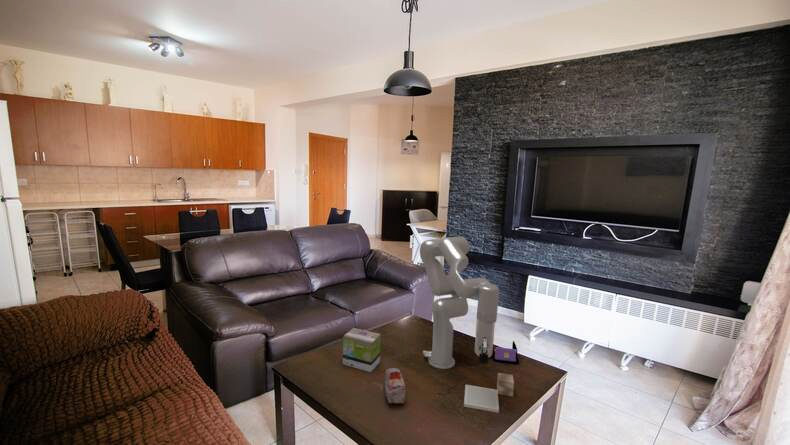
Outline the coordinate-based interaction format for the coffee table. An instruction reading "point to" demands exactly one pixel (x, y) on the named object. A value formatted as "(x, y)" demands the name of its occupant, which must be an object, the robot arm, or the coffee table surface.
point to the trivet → (481, 398)
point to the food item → (394, 386)
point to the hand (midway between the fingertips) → (483, 356)
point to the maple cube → (505, 384)
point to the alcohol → (490, 350)
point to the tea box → (361, 349)
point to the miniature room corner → (506, 355)
